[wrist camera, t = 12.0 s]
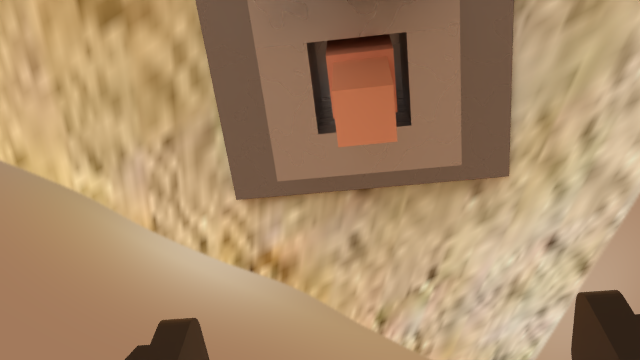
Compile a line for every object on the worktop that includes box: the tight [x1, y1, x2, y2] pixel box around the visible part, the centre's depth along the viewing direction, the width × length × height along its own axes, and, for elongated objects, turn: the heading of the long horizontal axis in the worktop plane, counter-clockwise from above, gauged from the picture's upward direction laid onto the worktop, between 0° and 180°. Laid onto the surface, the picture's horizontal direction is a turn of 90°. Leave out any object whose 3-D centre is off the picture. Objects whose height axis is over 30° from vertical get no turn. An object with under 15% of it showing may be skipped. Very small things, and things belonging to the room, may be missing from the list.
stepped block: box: [326, 34, 398, 147], centre depth 28 cm, size 3×3×9 cm
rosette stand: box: [196, 0, 514, 200], centre depth 25 cm, size 18×16×17 cm
